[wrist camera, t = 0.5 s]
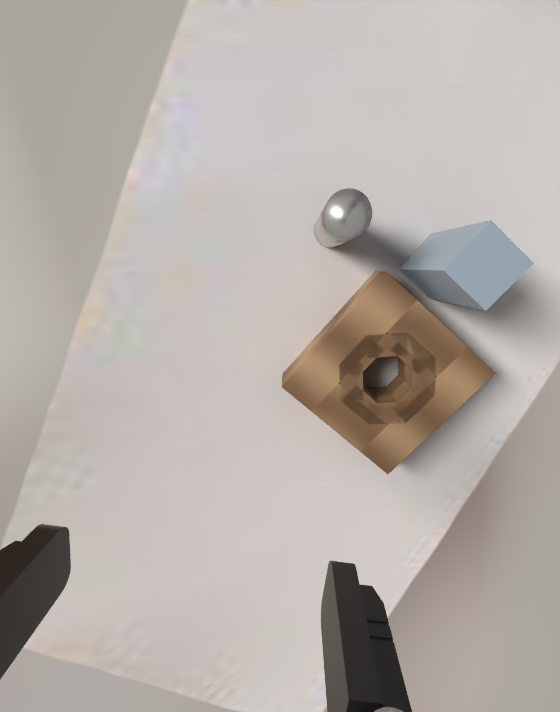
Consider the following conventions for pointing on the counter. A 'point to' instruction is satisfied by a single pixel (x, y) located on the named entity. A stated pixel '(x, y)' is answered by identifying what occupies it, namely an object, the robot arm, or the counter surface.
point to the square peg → (467, 265)
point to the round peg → (343, 218)
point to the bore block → (406, 392)
